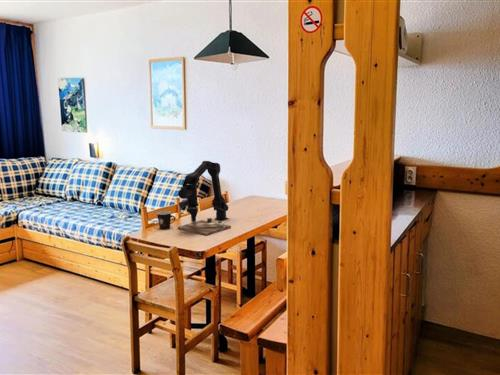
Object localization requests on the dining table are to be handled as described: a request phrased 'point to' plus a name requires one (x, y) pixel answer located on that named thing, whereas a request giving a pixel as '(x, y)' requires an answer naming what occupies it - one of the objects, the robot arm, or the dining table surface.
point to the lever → (207, 224)
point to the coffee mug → (164, 220)
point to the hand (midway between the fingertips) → (193, 220)
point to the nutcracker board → (203, 228)
